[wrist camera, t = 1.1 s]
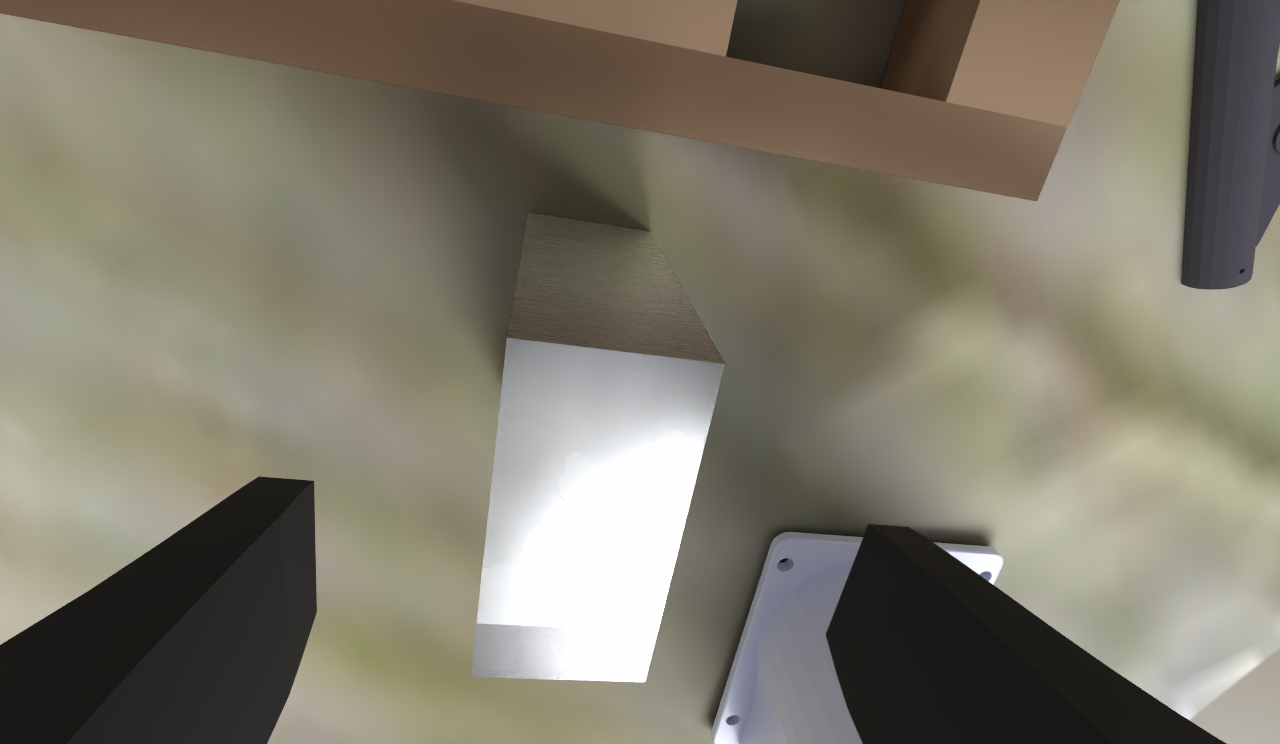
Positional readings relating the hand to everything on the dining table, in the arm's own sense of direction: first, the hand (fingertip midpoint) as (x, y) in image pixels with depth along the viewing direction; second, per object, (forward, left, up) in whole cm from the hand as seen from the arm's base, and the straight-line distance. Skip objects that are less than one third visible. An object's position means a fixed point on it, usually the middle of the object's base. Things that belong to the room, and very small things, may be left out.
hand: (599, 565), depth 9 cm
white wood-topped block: (0, 0, -9) cm, 9 cm away
